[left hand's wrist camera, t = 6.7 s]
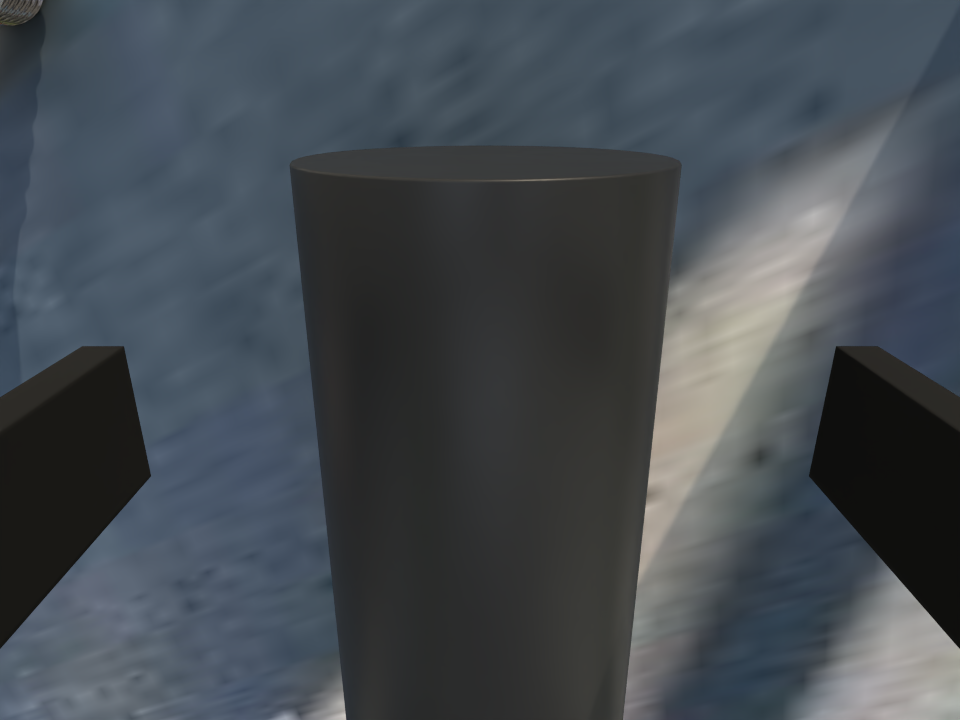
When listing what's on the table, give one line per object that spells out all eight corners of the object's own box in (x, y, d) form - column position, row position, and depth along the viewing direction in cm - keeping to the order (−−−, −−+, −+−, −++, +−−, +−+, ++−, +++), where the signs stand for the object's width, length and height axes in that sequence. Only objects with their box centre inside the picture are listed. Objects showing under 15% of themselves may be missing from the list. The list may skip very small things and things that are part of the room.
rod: (335, 145, 19) (228, 179, 11) (634, 145, 19) (744, 179, 11) (384, 775, 28) (345, 1039, 20) (583, 776, 28) (623, 1040, 20)
